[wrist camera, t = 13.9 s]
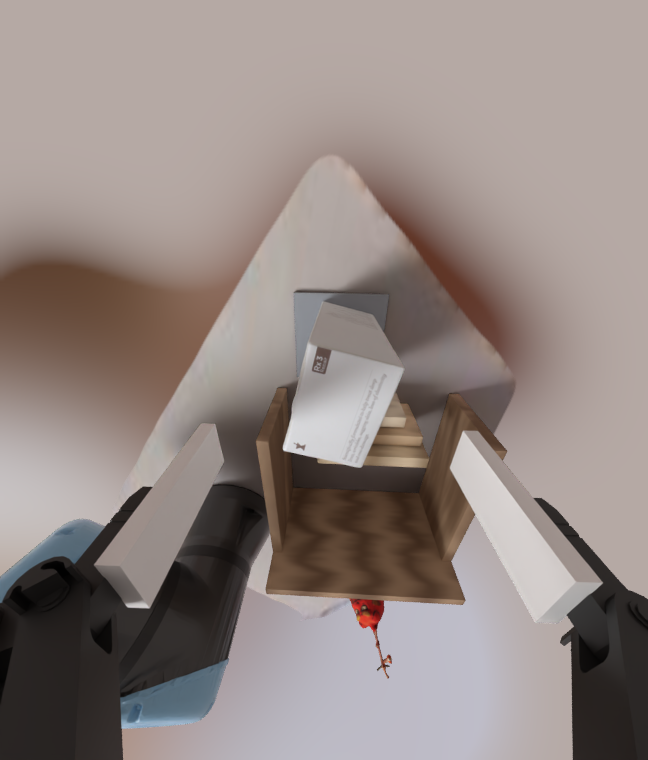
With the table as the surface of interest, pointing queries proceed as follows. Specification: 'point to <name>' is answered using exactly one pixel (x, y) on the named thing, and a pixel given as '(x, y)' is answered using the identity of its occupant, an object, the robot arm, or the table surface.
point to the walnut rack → (368, 523)
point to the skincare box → (342, 387)
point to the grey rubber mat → (311, 303)
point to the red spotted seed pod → (371, 620)
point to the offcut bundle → (396, 440)
